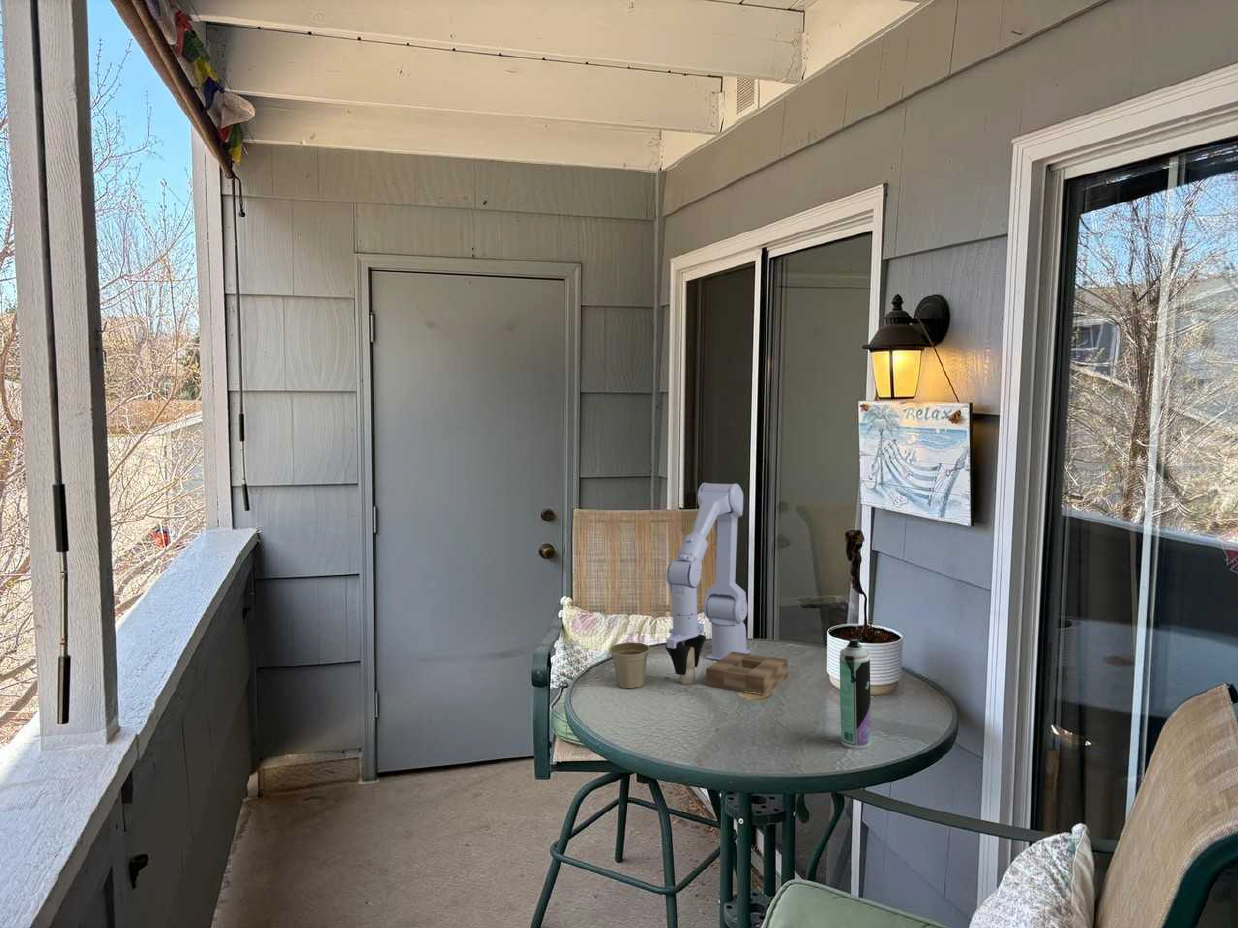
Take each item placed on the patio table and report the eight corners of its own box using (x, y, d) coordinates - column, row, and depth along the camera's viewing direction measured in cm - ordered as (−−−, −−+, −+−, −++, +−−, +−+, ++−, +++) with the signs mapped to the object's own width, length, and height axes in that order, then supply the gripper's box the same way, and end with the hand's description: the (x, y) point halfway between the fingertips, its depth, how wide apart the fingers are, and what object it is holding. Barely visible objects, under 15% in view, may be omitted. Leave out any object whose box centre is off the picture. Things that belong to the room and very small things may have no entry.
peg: (684, 678, 198) (683, 645, 197) (697, 681, 196) (696, 647, 195) (676, 683, 195) (675, 649, 194) (690, 686, 193) (689, 652, 192)
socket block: (733, 667, 204) (732, 651, 204) (787, 676, 197) (787, 659, 196) (706, 685, 193) (706, 668, 192) (764, 695, 185) (763, 677, 185)
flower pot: (651, 691, 191) (650, 653, 190) (610, 692, 191) (608, 655, 190) (651, 677, 200) (649, 641, 199) (611, 678, 200) (609, 642, 200)
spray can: (872, 749, 156) (870, 644, 154) (841, 748, 157) (839, 643, 155) (869, 737, 161) (868, 635, 159) (840, 736, 162) (838, 634, 161)
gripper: (684, 603, 202) (686, 658, 203) (653, 618, 190) (656, 677, 191) (711, 606, 198) (712, 662, 200) (681, 621, 186) (683, 681, 187)
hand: (687, 670), depth 195 cm, fingers open, 5 cm apart
